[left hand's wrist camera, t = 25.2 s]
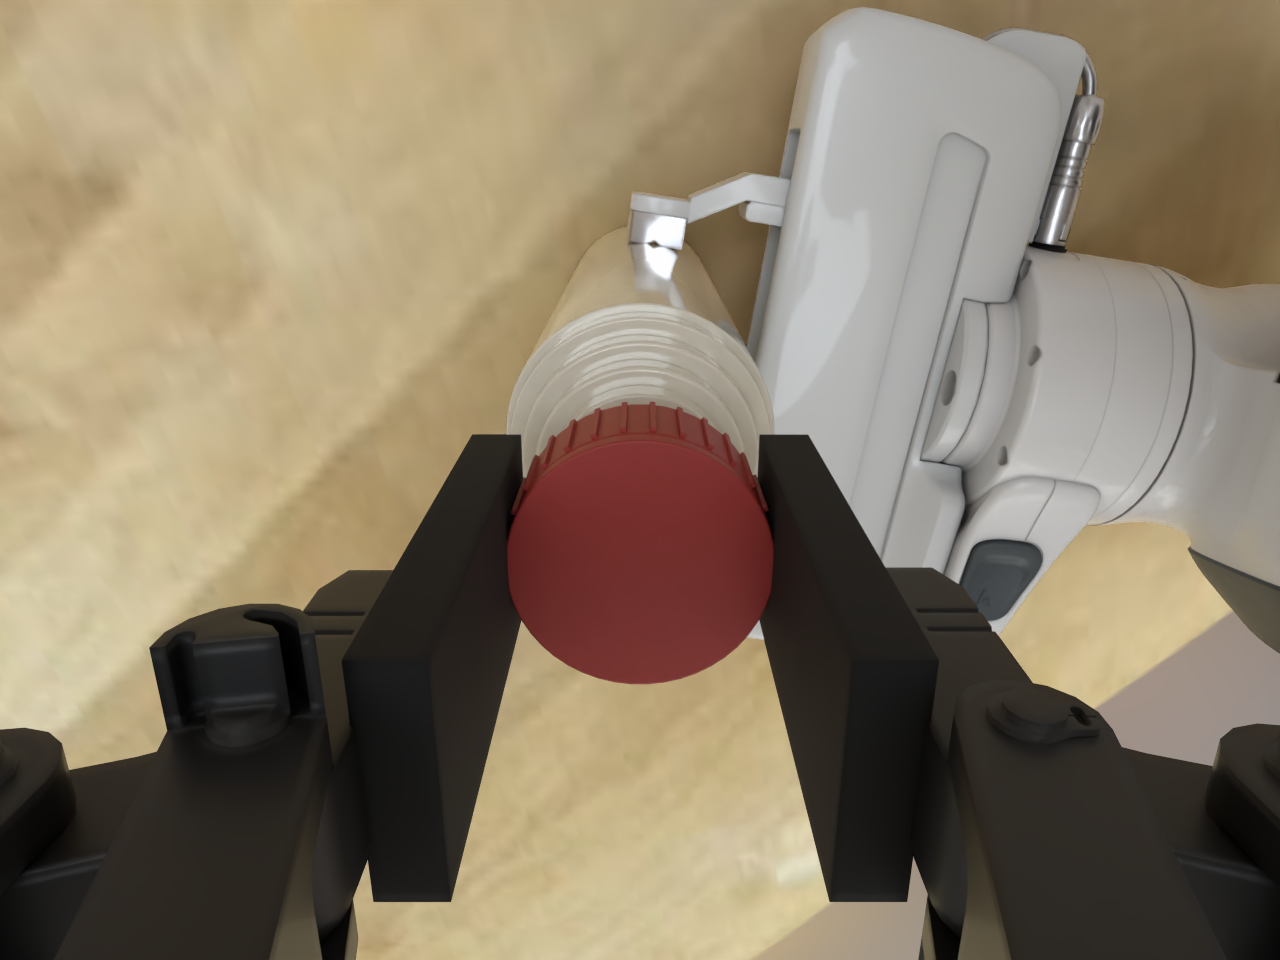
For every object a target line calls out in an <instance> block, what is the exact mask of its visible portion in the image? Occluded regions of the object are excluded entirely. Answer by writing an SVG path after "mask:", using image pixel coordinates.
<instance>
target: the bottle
mask: <svg viewBox="0 0 1280 960" xmlns="http://www.w3.org/2000/svg"><path fill="white" fill-rule="evenodd" d="M626 234H627V226H626V227H622V228H619V229H616V230H613V231H611V232H609V233H607V234H606V235H604V236H603V237H601V238H600V239H598V240H597V241H596V242H595V243H594V244H593V245H592V246H591V247H590V248H589V249H588V250H587V251H586V253H585V254H584V256H583V257H582V259H581V260H580V262H579V264H578V266H577V268H576V270H575V271H574V273H573V275H572V277H571V279H570V281H569V283H568V285H567V286H566V288H565V290H564V292H563V294H562V296H561V298H560V300H559V302H558V303H557V305H556V307H555V309H554V311H553V313H552V315H551V317H550V318H549V320H548V322H547V324H546V326H545V328H544V330H543V332H542V334H541V335H540V337H539V339H538V341H537V343H536V345H535V347H534V349H533V350H532V352H531V354H530V356H529V358H528V360H527V362H526V364H525V365H524V367H523V369H522V371H521V373H520V375H519V378H518V380H517V382H516V384H515V386H514V389H513V392H512V396H511V399H510V402H509V408H508V414H507V422H506V435H521V444H522V465H523V477H525V478H526V477H527V474H528V471H529V468H530V465H531V462H532V460H533V457H534V456H535V455H537V456H539V455H540V454H541V453H542V451H543V450H544V449H545V448H546V446H547V444H548V440H549V438H550V437H551V436H552V435H554V436H555V437H556V436H557V435H558V434H559V433H560V432H562V431H563V430H564V429H566V428H567V427H568V426H569V424H570V421H571V420H573V419H575V420H576V421H578V420H580V419H582V418H584V417H585V416H588V415H590V414H593V413H594V411H595V409H597V408H600V409H601V410H604V409H608V408H612V407H616V406H622V402H627V403H628V405H632V404H650V402H655V405H657V406H665V407H669V408H673V409H677V407H681V408H683V412H685V413H688V414H690V415H693V416H695V417H697V418H699V419H702V418H703V417H704V418H706V419H707V420H708V424H709V425H711V426H712V427H714V428H715V429H716V430H718V431H719V432H720V433H721V434H724V433H727V434H728V435H729V437H730V441H731V443H732V444H733V445H734V447H735V448H736V449H737V451H738V452H739V453H742V452H744V454H745V455H746V457H747V460H748V463H749V466H750V469H751V472H752V475H755V474H756V476H757V477H758V457H759V436H760V434H774V415H773V409H772V403H771V400H770V396H769V393H768V390H767V387H766V385H765V382H764V380H763V378H762V376H761V374H760V371H759V370H758V368H757V366H756V364H755V362H754V360H753V358H752V356H751V354H750V353H749V351H748V349H747V347H746V345H745V343H744V341H743V339H742V337H741V336H740V334H739V332H738V330H737V328H736V326H735V324H734V322H733V320H732V319H731V317H730V315H729V313H728V311H727V309H726V307H725V305H724V303H723V302H722V300H721V298H720V296H719V294H718V292H717V290H716V288H715V286H714V285H713V283H712V281H711V279H710V277H709V275H708V273H707V271H706V269H705V268H704V266H703V264H702V262H701V260H700V259H699V257H698V255H697V254H696V253H695V251H694V250H693V249H692V248H691V246H689V245H688V244H687V243H686V242H685V241H684V240H683V245H682V250H678V249H671V248H666V247H663V246H659V245H658V244H657V243H656V242H655V241H653V242H651V243H649V244H642V243H640V244H639V243H634V242H629V241H626Z"/></svg>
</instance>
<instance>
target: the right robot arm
mask: <svg viewBox="0 0 1280 960" xmlns="http://www.w3.org/2000/svg"><path fill="white" fill-rule="evenodd" d="M1080 77H1081V78H1082V95H1076V91H1077V88H1078V84H1079V81H1080ZM1096 94H1097V75H1096V70H1095V66H1094V64H1093V61H1092V59H1091V57H1090V56H1089V54H1088V52H1087V51H1086V50H1085V48H1084V47H1083V46H1082V45H1081V44H1079V43H1078V42H1077V41H1075V40H1074V39H1072V38H1070V37H1067V36H1065V35H1062V34H1057V33H1051V32H1045V31H1039V30H1033V29H1027V28H1021V27H1009V28H1004V29H1000V30H997V31H994V32H992V33H990V34H988V35H986V36H984V37H983V38H981V39H980V38H977V37H975V36H972V35H969V34H966V33H963V32H960V31H957V30H954V29H951V28H948V27H945V26H942V25H939V24H936V23H932V22H929V21H925V20H922V19H918V18H915V17H911V16H907V15H902V14H898V13H894V12H890V11H885V10H880V9H875V8H868V7H857V8H852V9H848V10H845V11H843V12H842V13H840V14H838V15H836V16H834V17H833V18H831V19H830V20H828V21H827V22H826V23H825V24H823V25H822V26H821V27H820V28H819V29H818V30H816V31H815V32H814V33H813V34H812V35H811V36H810V37H809V38H808V40H807V41H806V43H805V46H804V49H803V54H802V59H801V64H800V69H799V75H798V80H797V85H796V90H795V95H794V101H793V106H792V111H791V116H790V122H789V127H788V132H787V137H786V142H785V148H784V153H783V158H782V163H781V168H780V174H779V177H775V176H769V175H762V174H755V173H749V172H743V173H740V174H738V175H735V176H733V177H730V178H728V179H726V180H723V181H721V182H718V183H716V184H713V185H711V186H709V187H706V188H704V189H701V190H699V191H696V192H694V193H692V194H689V195H688V198H687V199H685V198H678V197H672V196H666V195H659V194H653V193H646V192H636V191H632V197H631V204H630V210H629V218H628V226H627V234H626V241H629V242H634V243H639V244H640V243H642V244H649V243H651V242H653V241H655V242H656V243H657V244H658V245H659V246H663V247H666V248H671V249H678V250H682V245H683V239H684V234H685V228H686V223H687V224H689V223H691V222H694V221H696V220H699V219H702V218H704V217H707V216H709V215H712V214H714V213H717V212H719V211H722V210H724V209H727V208H729V207H732V206H734V205H737V204H739V203H740V205H739V210H738V212H739V214H740V216H741V217H743V218H744V219H746V220H747V221H751V222H756V223H762V224H768V225H770V226H769V231H768V236H767V241H766V247H765V252H764V257H763V262H762V267H761V273H760V278H759V283H758V288H757V294H756V299H755V304H754V309H753V314H752V320H751V325H750V330H749V335H748V340H747V346H746V347H747V349H748V351H749V353H750V354H751V356H752V358H753V360H754V362H755V364H756V366H757V368H758V370H759V371H760V374H761V376H762V378H763V380H764V382H765V385H766V387H767V390H768V393H769V396H770V400H771V403H772V409H773V415H774V434H779V435H809V437H810V438H811V440H812V442H813V444H814V445H815V447H816V449H817V451H818V452H819V454H820V456H821V457H822V459H823V461H824V463H825V464H826V466H827V468H828V469H829V471H830V473H831V475H832V476H833V478H834V480H835V482H836V483H837V485H838V487H839V488H840V490H841V492H842V494H843V495H844V497H845V499H846V500H847V502H848V504H849V506H850V507H851V509H852V511H853V513H854V514H855V516H856V518H857V519H858V521H859V523H860V525H861V526H862V528H863V530H864V531H865V533H866V535H867V537H868V538H869V540H870V542H871V544H872V545H873V547H874V549H875V550H876V552H877V554H878V556H879V557H880V559H881V561H882V562H883V564H884V566H885V567H932V568H934V569H935V570H937V571H938V572H940V573H942V574H943V575H945V576H946V577H948V578H950V579H951V580H953V581H954V582H956V583H958V584H959V585H961V586H962V587H963V588H964V589H965V591H966V592H967V594H968V595H969V596H970V598H971V599H972V600H973V602H974V603H975V605H976V606H977V607H978V612H979V613H982V614H983V615H984V617H985V618H986V620H987V621H988V622H989V624H990V625H991V626H992V632H996V633H997V635H999V634H1000V633H1001V631H1002V630H1003V629H1004V628H1005V626H1006V625H1007V624H1008V622H1009V621H1010V619H1011V618H1012V616H1013V615H1014V614H1015V612H1016V611H1017V609H1018V608H1019V607H1020V605H1021V604H1022V603H1023V601H1024V600H1025V598H1026V597H1027V596H1028V594H1029V593H1030V592H1031V590H1032V589H1033V588H1034V586H1035V585H1036V584H1037V582H1038V581H1039V580H1040V578H1041V577H1042V576H1043V575H1044V573H1045V572H1046V571H1047V569H1048V568H1049V567H1050V566H1051V564H1052V563H1053V562H1054V561H1055V560H1056V558H1057V557H1058V556H1059V555H1060V554H1061V552H1062V551H1063V550H1064V549H1065V548H1066V547H1067V545H1068V544H1069V543H1070V542H1071V541H1072V540H1073V539H1074V538H1075V537H1076V536H1077V535H1078V534H1079V532H1080V531H1081V530H1082V529H1083V528H1084V527H1085V526H1086V525H1110V524H1120V523H1129V522H1146V523H1154V524H1160V525H1164V526H1168V527H1171V528H1173V529H1175V530H1177V531H1179V532H1181V533H1183V534H1186V535H1188V537H1189V538H1190V541H1191V546H1190V547H1189V548H1188V550H1189V552H1190V554H1191V556H1192V558H1193V560H1194V561H1195V563H1196V564H1197V566H1198V568H1199V569H1200V570H1201V572H1202V573H1203V575H1204V576H1205V577H1206V578H1207V580H1208V581H1209V582H1210V583H1211V584H1212V586H1213V587H1214V588H1215V589H1216V591H1217V592H1218V593H1219V594H1220V595H1221V597H1222V598H1223V599H1224V600H1225V601H1226V603H1227V604H1228V605H1229V606H1230V607H1231V608H1232V609H1233V611H1234V612H1235V613H1236V614H1237V615H1238V617H1239V618H1240V619H1241V620H1242V622H1243V623H1244V624H1245V625H1246V626H1247V627H1248V628H1249V629H1250V630H1251V631H1252V632H1253V633H1254V634H1255V635H1256V636H1257V637H1258V638H1259V639H1261V640H1262V641H1263V642H1264V643H1265V644H1267V645H1268V646H1270V647H1271V648H1272V649H1274V650H1275V651H1277V652H1278V653H1280V285H1277V284H1249V285H1242V286H1236V287H1227V288H1217V287H1210V286H1206V285H1202V284H1199V283H1197V282H1195V281H1193V280H1191V279H1189V278H1187V277H1186V276H1183V275H1181V274H1179V273H1177V272H1175V271H1172V270H1170V269H1168V268H1164V267H1160V266H1155V265H1150V264H1144V263H1138V262H1131V261H1125V260H1119V259H1113V258H1106V257H1100V256H1093V255H1087V254H1081V253H1074V252H1068V251H1067V250H1066V249H1065V246H1066V242H1067V239H1068V236H1069V232H1070V228H1071V225H1072V222H1073V218H1074V215H1075V212H1076V208H1077V205H1078V201H1079V197H1080V193H1081V190H1080V188H1081V187H1082V182H1083V181H1082V178H1083V176H1084V171H1083V170H1084V169H1085V168H1086V164H1087V162H1086V160H1088V157H1089V154H1090V151H1091V147H1092V145H1095V143H1096V140H1097V138H1098V136H1099V133H1100V130H1101V126H1102V122H1103V117H1104V111H1105V99H1103V98H1101V97H1096ZM1027 242H1030V243H1032V244H1030V243H1029V245H1028V246H1027ZM747 638H753V639H760V640H764V637H763V633H762V629H761V625H760V621H758V623H757V624H756V625H755V627H754V628H753V630H752V631H751V632H750V634H749V635H748V636H747Z"/></svg>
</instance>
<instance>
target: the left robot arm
mask: <svg viewBox="0 0 1280 960" xmlns="http://www.w3.org/2000/svg"><path fill="white" fill-rule="evenodd" d="M757 478H758V481H759V484H760V487H761V490H762V492H763V495H764V498H765V501H766V504H767V507H768V509H769V511H767V512H765V514H766V517H767V520H768V523H769V526H770V529H771V533H772V537H773V542H774V552H773V571H772V587H771V594H770V597H769V600H768V602H767V605H766V608H765V610H764V612H763V613H762V615H761V617H760V619H759V621H760V625H761V629H762V633H763V637H764V641H765V645H766V649H767V653H768V657H769V661H770V665H771V669H772V673H773V677H774V681H775V685H776V689H777V693H778V697H779V701H780V705H781V709H782V713H783V717H784V721H785V725H786V729H787V733H788V737H789V741H790V745H791V749H792V753H793V757H794V761H795V765H796V769H797V773H798V777H799V781H800V785H801V789H802V793H803V797H804V801H805V805H806V809H807V813H808V817H809V821H810V825H811V829H812V833H813V837H814V841H815V845H816V849H817V853H818V857H819V861H820V865H821V869H822V873H823V877H824V881H825V885H826V889H827V893H828V897H829V901H830V902H907V898H908V891H909V883H910V876H911V868H912V861H913V857H914V859H915V862H916V864H917V867H918V869H919V872H920V875H921V877H922V880H923V883H924V885H925V888H926V890H927V893H928V897H927V904H926V911H925V918H924V925H923V932H922V939H921V946H920V953H919V960H1280V725H1268V724H1253V725H1247V726H1242V727H1236V728H1233V729H1232V730H1230V731H1229V732H1228V733H1227V734H1226V735H1224V736H1223V737H1222V738H1221V739H1220V742H1219V746H1218V749H1217V753H1216V757H1215V760H1214V764H1213V766H1208V765H1203V764H1198V763H1193V762H1188V761H1183V760H1177V759H1172V758H1167V757H1162V756H1157V755H1152V754H1147V753H1143V752H1139V751H1135V750H1131V749H1127V748H1123V747H1121V745H1120V743H1119V741H1118V739H1117V737H1116V735H1115V733H1114V731H1113V729H1112V728H1111V727H1110V726H1109V724H1108V723H1107V722H1106V721H1105V720H1104V718H1103V717H1102V716H1101V715H1100V714H1099V712H1097V711H1096V710H1094V709H1093V708H1091V707H1090V706H1088V705H1087V704H1085V703H1084V702H1082V701H1080V700H1079V699H1077V698H1076V697H1074V696H1071V695H1069V694H1066V693H1064V692H1061V691H1059V690H1056V689H1053V688H1051V687H1048V686H1045V685H1039V684H1034V683H1032V681H1031V680H1030V678H1029V677H1028V676H1027V674H1026V673H1025V672H1024V670H1023V669H1022V667H1021V666H1020V665H1019V663H1018V662H1017V661H1016V659H1015V658H1014V657H1013V655H1012V654H1011V652H1010V651H1009V650H1008V648H1007V647H1006V646H1005V644H1004V643H1003V641H1002V640H1001V639H1000V637H999V636H998V635H997V633H996V632H992V626H991V625H990V624H989V622H988V621H987V620H986V618H985V617H984V615H983V614H982V613H979V612H978V607H977V606H976V605H975V603H974V602H973V600H972V599H971V598H970V596H969V595H968V594H967V592H966V591H965V589H964V588H963V587H962V586H961V585H959V584H958V583H956V582H954V581H953V580H951V579H950V578H948V577H946V576H945V575H943V574H942V573H940V572H938V571H937V570H935V569H934V568H932V567H885V566H884V564H883V562H882V561H881V559H880V557H879V556H878V554H877V552H876V550H875V549H874V547H873V545H872V544H871V542H870V540H869V538H868V537H867V535H866V533H865V531H864V530H863V528H862V526H861V525H860V523H859V521H858V519H857V518H856V516H855V514H854V513H853V511H852V509H851V507H850V506H849V504H848V502H847V500H846V499H845V497H844V495H843V494H842V492H841V490H840V488H839V487H838V485H837V483H836V482H835V480H834V478H833V476H832V475H831V473H830V471H829V469H828V468H827V466H826V464H825V463H824V461H823V459H822V457H821V456H820V454H819V452H818V451H817V449H816V447H815V445H814V444H813V442H812V440H811V438H810V437H809V435H779V434H760V436H759V457H758V477H757ZM522 480H523V465H522V444H521V435H472V436H471V438H470V440H469V441H468V443H467V445H466V446H465V448H464V450H463V452H462V453H461V455H460V457H459V459H458V460H457V462H456V464H455V465H454V467H453V469H452V471H451V472H450V474H449V476H448V477H447V479H446V481H445V483H444V484H443V486H442V488H441V490H440V491H439V493H438V495H437V496H436V498H435V500H434V502H433V503H432V505H431V507H430V508H429V510H428V512H427V514H426V515H425V517H424V519H423V521H422V522H421V524H420V526H419V527H418V529H417V531H416V533H415V534H414V536H413V538H412V539H411V541H410V543H409V545H408V546H407V548H406V550H405V552H404V553H403V555H402V557H401V558H400V560H399V562H398V564H397V565H396V567H395V569H394V570H349V571H347V572H346V573H344V574H343V575H341V576H339V577H338V578H336V579H335V580H333V581H331V582H330V583H328V584H327V585H325V586H323V587H322V588H320V589H319V590H318V591H317V593H316V594H315V595H314V597H313V598H312V600H311V601H310V602H309V604H308V605H307V606H306V608H305V609H304V611H301V610H300V609H297V608H292V607H288V606H284V605H280V604H246V605H240V606H234V607H228V608H222V609H217V610H214V611H211V612H208V613H205V614H202V615H199V616H196V617H193V618H190V619H188V620H186V621H184V622H183V623H181V624H179V625H177V626H175V627H174V628H172V629H170V630H168V631H166V632H165V633H164V634H163V635H162V636H161V637H160V638H159V639H158V640H157V641H156V642H155V643H154V644H153V645H152V646H151V647H150V648H149V649H150V653H151V658H152V662H153V667H154V671H155V676H156V681H157V685H158V690H159V694H160V699H161V704H162V708H163V713H164V717H165V722H166V727H167V733H166V735H165V737H164V739H163V741H162V743H161V745H160V747H159V749H158V751H157V752H154V753H150V754H146V755H142V756H138V757H134V758H129V759H124V760H119V761H114V762H109V763H104V764H99V765H93V766H88V767H83V768H78V769H73V770H69V769H68V765H67V761H66V758H65V754H64V750H63V746H62V743H61V742H60V741H58V740H57V739H56V738H55V737H54V736H52V735H51V734H50V733H49V732H45V731H39V730H34V729H28V728H16V729H3V730H0V960H356V953H357V945H358V933H357V925H356V918H355V911H354V904H353V897H354V894H355V892H356V889H357V886H358V884H359V881H360V878H361V876H362V873H363V871H364V868H365V865H366V863H367V860H368V864H369V871H370V879H371V886H372V894H373V901H374V902H451V899H452V895H453V891H454V887H455V883H456V879H457V875H458V871H459V867H460V863H461V859H462V855H463V851H464V847H465V843H466V839H467V835H468V831H469V827H470V823H471V819H472V815H473V811H474V807H475V803H476V799H477V795H478V791H479V787H480V783H481V779H482V775H483V771H484V767H485V763H486V759H487V755H488V751H489V747H490V743H491V739H492V735H493V731H494V727H495V723H496V719H497V715H498V711H499V707H500V703H501V699H502V695H503V691H504V687H505V683H506V679H507V675H508V671H509V667H510V663H511V659H512V655H513V651H514V647H515V643H516V639H517V635H518V631H519V627H520V623H521V618H520V616H519V614H518V612H517V610H516V608H515V606H514V604H513V601H512V598H511V595H510V592H509V578H508V560H507V539H508V535H509V531H510V527H511V524H512V521H513V519H514V515H512V514H511V511H512V508H513V505H514V502H515V500H516V497H517V494H518V491H519V488H520V486H521V483H522Z"/></svg>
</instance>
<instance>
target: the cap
mask: <svg viewBox="0 0 1280 960" xmlns="http://www.w3.org/2000/svg"><path fill="white" fill-rule="evenodd" d="M767 511H769V509H768V507H767V504H766V501H765V498H764V495H763V492H762V490H761V487H760V484H759V481H758V478H757V476H756V474H755V475H752V472H751V469H750V466H749V463H748V460H747V457H746V455H745V454H744V452H742V453H739V452H738V451H737V449H736V448H735V447H734V445H733V444H732V443H731V441H730V437H729V435H728V434H727V433H724V434H721V433H720V432H719V431H718V430H716V429H715V428H714V427H712V426H711V425H709V424H708V420H707V419H706V418H704V417H703V418H702V419H699V418H697V417H695V416H693V415H690V414H688V413H685V412H683V408H681V407H677V409H673V408H669V407H665V406H657V405H655V402H650V404H632V405H628V403H627V402H622V406H616V407H612V408H608V409H604V410H601V409H600V408H597V409H595V411H594V413H593V414H590V415H588V416H585V417H584V418H582V419H580V420H578V421H576V420H575V419H573V420H571V421H570V424H569V426H568V427H567V428H566V429H564V430H563V431H562V432H560V433H559V434H558V435H557V436H556V437H555V436H554V435H552V436H551V437H550V438H549V440H548V444H547V446H546V448H545V449H544V450H543V451H542V453H541V454H540V455H539V456H537V455H535V456H534V457H533V460H532V462H531V465H530V468H529V471H528V474H527V477H526V478H525V477H523V480H522V483H521V486H520V488H519V491H518V494H517V497H516V500H515V502H514V505H513V508H512V511H511V514H512V515H514V519H513V521H512V524H511V527H510V531H509V535H508V539H507V560H508V578H509V592H510V595H511V598H512V601H513V604H514V606H515V608H516V610H517V612H518V614H519V616H520V618H521V620H522V622H523V623H524V624H525V626H526V627H527V629H528V630H529V632H530V633H531V634H532V635H533V636H534V638H535V639H536V640H537V641H538V642H539V643H540V644H541V645H542V646H543V647H544V648H545V649H546V650H548V651H549V652H550V653H551V654H552V655H553V656H555V657H556V658H558V659H559V660H561V661H562V662H564V663H565V664H567V665H568V666H570V667H572V668H574V669H576V670H578V671H580V672H582V673H585V674H588V675H591V676H593V677H596V678H599V679H604V680H608V681H612V682H618V683H626V684H654V683H663V682H668V681H673V680H677V679H681V678H684V677H687V676H690V675H693V674H696V673H698V672H700V671H702V670H704V669H706V668H708V667H710V666H712V665H714V664H715V663H717V662H718V661H720V660H722V659H723V658H725V657H726V656H727V655H728V654H730V653H731V652H732V651H733V650H734V649H736V648H737V647H738V646H739V645H740V644H741V643H742V642H743V640H744V639H745V638H746V637H747V636H748V635H749V634H750V632H751V631H752V630H753V628H754V627H755V625H756V624H757V623H758V621H759V619H760V617H761V615H762V613H763V612H764V610H765V608H766V605H767V602H768V600H769V597H770V594H771V587H772V571H773V552H774V542H773V537H772V533H771V529H770V526H769V523H768V520H767V517H766V514H765V512H767Z"/></svg>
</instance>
